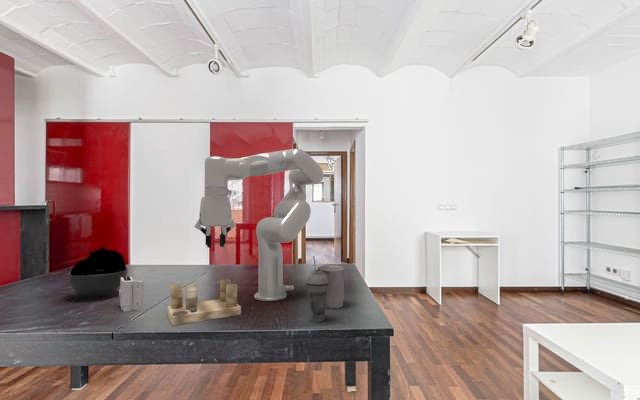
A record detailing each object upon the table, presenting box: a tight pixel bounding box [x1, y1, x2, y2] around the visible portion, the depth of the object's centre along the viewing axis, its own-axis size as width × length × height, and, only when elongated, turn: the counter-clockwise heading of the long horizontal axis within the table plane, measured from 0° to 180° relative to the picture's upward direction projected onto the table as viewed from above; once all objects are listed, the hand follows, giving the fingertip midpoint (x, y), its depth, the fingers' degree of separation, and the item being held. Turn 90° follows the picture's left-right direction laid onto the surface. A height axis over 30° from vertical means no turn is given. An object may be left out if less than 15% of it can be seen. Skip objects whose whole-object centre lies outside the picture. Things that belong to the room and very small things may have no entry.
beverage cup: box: [305, 255, 329, 323], centre depth 105 cm, size 7×7×20 cm
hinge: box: [118, 275, 145, 313], centre depth 116 cm, size 14×5×10 cm, turn 47°
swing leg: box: [185, 284, 199, 312], centre depth 107 cm, size 7×4×7 cm, turn 30°
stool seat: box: [167, 278, 242, 326], centre depth 110 cm, size 21×13×10 cm, turn 120°
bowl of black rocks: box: [67, 246, 128, 298], centre depth 132 cm, size 20×20×19 cm
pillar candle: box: [317, 263, 345, 310], centre depth 120 cm, size 10×10×15 cm
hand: (215, 246), depth 112 cm, fingers open, 3 cm apart
